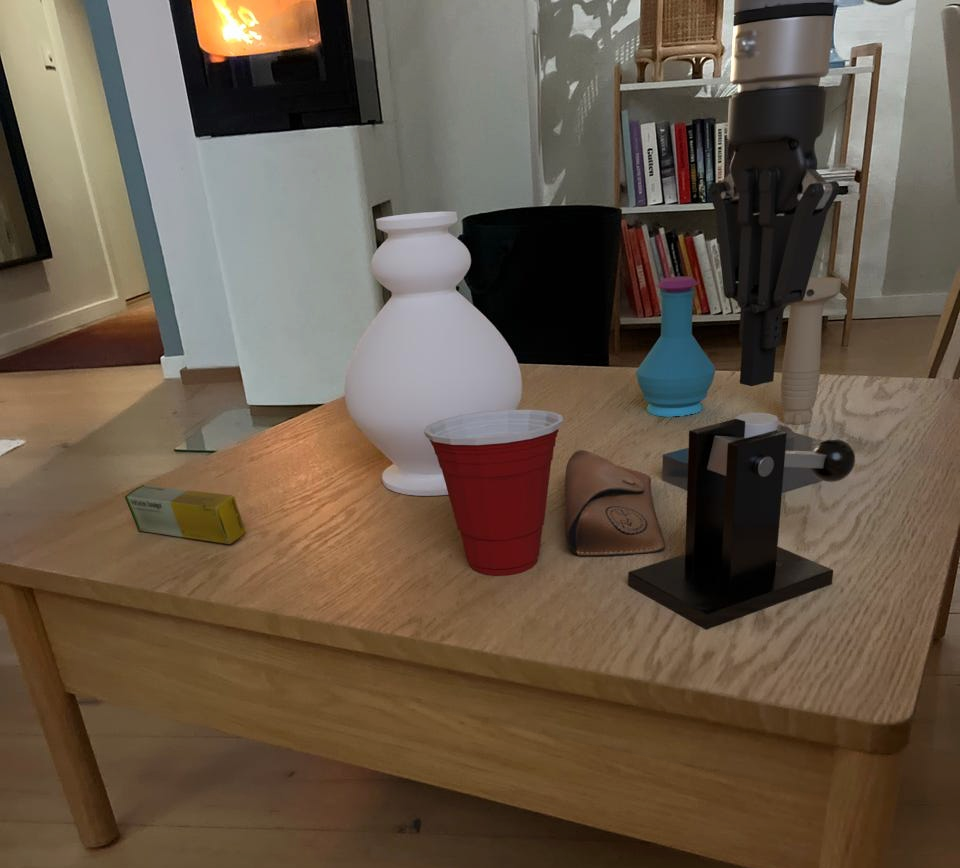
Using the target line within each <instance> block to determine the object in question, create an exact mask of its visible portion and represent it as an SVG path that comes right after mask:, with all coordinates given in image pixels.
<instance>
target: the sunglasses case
mask: <svg viewBox="0 0 960 868" xmlns="http://www.w3.org/2000/svg"><path fill="white" fill-rule="evenodd" d="M564 477H565V479H564V483H565V484H564V491H565V495H564V496H565V497H564V499H565V502H564V503H565V507H564V511H565V514H564V515H565V517H564V518H565V537H566V543H567V546H569V548H570V549H571V550H572V551H573V552H574V553H575V554H576V555H577V556H579V557H606V558H607V557H608V558H610V557H625V556H626V557H627V556H634V555H644V554H651V553H656V552H660V551H662V550H665V548H666V542H665V539H664V536H663V532H662V528H661V526H660V524H659V520H658V518H657V513H656V510H655V505H654V500H653V495H652V477H651V476H650V475H647V474H646V473H644V472H642V471H638V470H633V469H631V468H627V467H624V466H621V465H617V464H615V463H614V462H612V461H610V460H609V459H606V458H604V457H602V456H601V455H598V454H596V453H594V452H591V451H588V450H583V449H579V450H577V451H575V452H574V453H573V454H572V455H571V456H570V458H569V459H568V461H567V463H566V466H565V476H564Z"/></svg>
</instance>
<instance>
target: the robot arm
mask: <svg viewBox="0 0 960 868" xmlns="http://www.w3.org/2000/svg"><path fill="white" fill-rule="evenodd" d="M864 1H865V2H867V3H870V4H874V5H879V6H892V5H895V4H897V3H899V2H901V1H903V0H864ZM835 2H836V0H733V15H734V16H733V24H732V25H733V29H732V46H731V47H732V48H731V64H730V82H731V84H732V85H736V86H737V92H734V93H732V94H731V97H729V98H728V111H727V112H728V113H727V114H728V115H727V116H728V117H727V131H726V132H727V133H726V137H727V138H726V139H727V141H728V143H730V144H732V145H734V153H733V155H732V159H731V161H730V165H729V173H728V174H727V175H726V176H725V177H724V178H723V179H722V180H721V181H717V182H712V183H710V185H709V186H708V194H709V197H710V201H711V203H712V206H713V209H714V211H715V220H716V229H717V240H718V250H719V260H720V269H721V270H720V271H721V279H722V289H723V290H722V291H723V296H724V297H725V298H726V299H733V300H734V301H736V303H737V306H738V307H739V309H740V314H739V329H738V330H739V331H738V340H739V344H741V358H740V373H739V374H740V375H739V384H740V385H744V386H749V387H754V386H760V385H763V384H767V383H772V382H774V378H775V367H776V353H777V348H778V347H780V344H781V343H782V333H783V324H784V323H783V322H784V312H785V310H786V308H787V307H788V306H790V305H791V304H794V303H797V302H801V301H802V300H803V299H804V296H805V293H806V289H807V285H808V282H809V278H811V274H812V271H813V267H814V263H815V259H816V255H817V252H818V248H819V245H820V240H821V237H822V234H823V230H824V226H825V223H826V219H827V216H828V212H829V211H830V209H831V207H832V206H833V204H834V202H835V200H836V198H837V197H838V195H839V192H840V188H841V187H840V184H839V183H838V181H836V180H830V181H827V180H826V179H825V178H824V177H823V176H822V175H821V173H819V172H818V171H817V169H818V158H817V154H816V149H815V144H816V140H817V139H818V138H819V137H820V136H821V135H822V134H823V131H824V123H825V113H826V112H825V111H826V102H827V93H828V92H827V91H828V90H827V89H826V90H825V86H823V85H820V82H821V78H825V77H826V76H827V75H828V74H829V71H830V59H831V58H830V57H831V48H832V47H831V46H832V34H833V23H834V15H835V14H834V13H835Z"/></svg>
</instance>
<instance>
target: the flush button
mask: <svg viewBox="0 0 960 868" xmlns="http://www.w3.org/2000/svg"><path fill="white" fill-rule="evenodd" d="M733 419H739V420H743V421H745V437H744V438H749V437H752V436H756V435H760V434H764V433H767V432H771V431H775V430H777V429H778V424H779V417H778V416H777V415H774V414H772V413H767V412H746V413H741V414H738V415H736V416H734V418H733Z"/></svg>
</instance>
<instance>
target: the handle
mask: <svg viewBox="0 0 960 868" xmlns="http://www.w3.org/2000/svg"><path fill="white" fill-rule="evenodd" d="M841 284H842V279H841V278H839V277H826V276H825V277H822V276H821V277H819V276H818V277H817V276H816V277H810V278H809V282H808V285H807V289H806V293H805V296H804V299H803V300H802V301H801V302H797V303H794V304H791V305H789V315H788V324H787V330H786V331H787V332H786V339H785V347H784V353H783V360H782V367H781V369H782V370H781V377H780V378H781V379H780V387H781V388H780V401H781V407H782V409H781V419H782V421H783V423H784V424H788V425H789V424H790V425H794V426H800V425H803V424H809V423H810V422H811V421H812V419H813V413H814V411H813V408H814V407H815V403H816V400H817V395H818V394H817V393H818V391H819V384H820V375H821V356H822V355H821V354H822V353H821V352H822V329H823V328H822V326H823V313H824V306H825V304H826V303H827V301H830V300H831V299H833V298H835V297H836V296H838V295H839V293H840V292H841V288H842V285H841Z"/></svg>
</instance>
